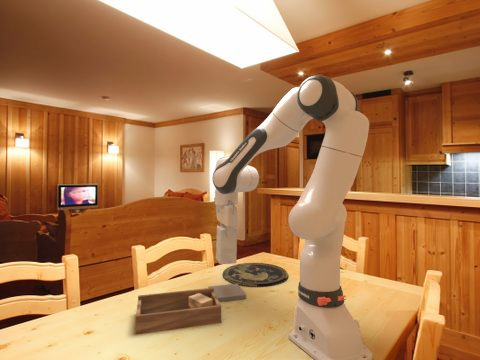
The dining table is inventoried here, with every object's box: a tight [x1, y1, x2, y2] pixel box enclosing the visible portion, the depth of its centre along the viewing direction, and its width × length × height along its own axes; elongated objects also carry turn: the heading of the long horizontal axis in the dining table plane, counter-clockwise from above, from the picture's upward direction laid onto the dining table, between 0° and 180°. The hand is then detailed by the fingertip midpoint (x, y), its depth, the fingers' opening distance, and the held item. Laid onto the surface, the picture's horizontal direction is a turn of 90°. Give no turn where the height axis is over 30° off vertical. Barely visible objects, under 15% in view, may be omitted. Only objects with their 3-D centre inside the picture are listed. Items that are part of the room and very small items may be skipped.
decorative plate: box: [222, 262, 289, 288], centre depth 134 cm, size 30×2×30 cm
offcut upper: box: [189, 293, 213, 308], centre depth 95 cm, size 7×4×3 cm, turn 45°
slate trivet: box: [207, 283, 247, 303], centre depth 111 cm, size 12×12×2 cm
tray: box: [135, 287, 222, 335], centre depth 93 cm, size 13×25×6 cm, turn 106°
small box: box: [215, 225, 238, 265], centre depth 111 cm, size 8×6×13 cm
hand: (226, 235), depth 111 cm, fingers closed on small box, 8 cm apart
